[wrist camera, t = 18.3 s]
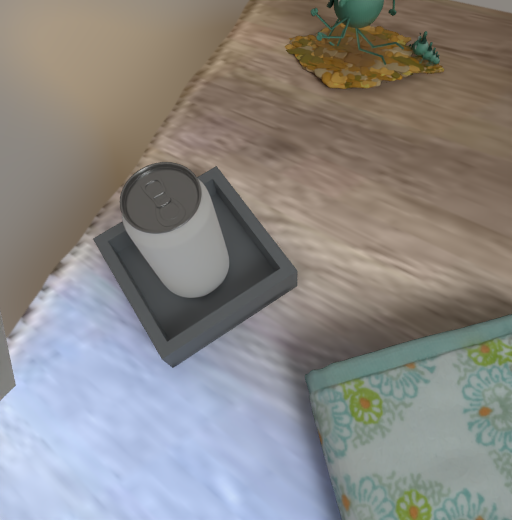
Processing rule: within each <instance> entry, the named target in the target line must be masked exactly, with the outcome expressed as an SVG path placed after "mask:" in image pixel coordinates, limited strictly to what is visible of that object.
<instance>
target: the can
mask: <svg viewBox="0 0 512 520" xmlns="http://www.w3.org/2000/svg"><path fill="white" fill-rule="evenodd" d="M120 208H121V212H122V221H123V224H124V227H125V229H126V231H127V233H128V235H129V236H130V238H131V239H132V241H133V242H134V244H135V245H136V246H137V248H138V249H139V251H140V252H141V254H142V255H143V256H144V258H145V259H146V261H147V262H148V263H149V265H150V266H151V268H152V269H153V270H154V272H155V273H156V274H157V276H158V277H159V279H160V280H161V281H162V283H163V284H164V285H165V286H166V287H167V288H168V289H169V290H170V291H171V292H173V293H174V294H176V295H178V296H182V297H187V298H196V297H202V296H205V295H207V294H209V293H211V292H212V291H214V290H215V289H216V288H217V287H218V286H219V285H220V284H221V283H222V282H223V281H224V279H225V277H226V275H227V273H228V269H229V255H228V251H227V248H226V245H225V241H224V238H223V235H222V231H221V228H220V225H219V222H218V219H217V215H216V212H215V209H214V206H213V203H212V200H211V197H210V195H209V192H208V190H207V188H206V187H205V185H204V184H203V183H202V182H201V181H200V180H199V179H198V178H197V177H196V175H195V174H194V173H193V172H192V171H191V170H189V169H188V168H186V167H185V166H183V165H180V164H177V163H172V162H160V163H155V164H151V165H148V166H146V167H144V168H142V169H140V170H139V171H137V172H136V173H135V174H133V175H132V176H131V177H130V178H129V180H128V181H127V182H126V184H125V185H124V187H123V190H122V192H121V196H120Z"/></svg>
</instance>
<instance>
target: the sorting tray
mask: <svg viewBox="0 0 512 520" xmlns="http://www.w3.org/2000/svg"><path fill="white" fill-rule="evenodd" d="M197 178H198V179H199V180H200V181H201V182H202V183H203V184H204V185H205V187H206V188H207V190H208V192H209V195H210V197H211V200H212V203H213V206H214V209H215V212H216V215H217V219H218V222H219V225H220V228H221V231H222V235H223V238H224V241H225V245H226V248H227V251H228V255H229V269H228V273H227V275H226V277H225V279H224V281H223V282H222V283H221V284H220V285H219V286H218V287H217V288H216V289H215V290H214V291H212V292H211V293H209V294H207V295H205V296H202V297H196V298H187V297H182V296H178V295H176V294H174V293H173V292H171V291H170V290H169V289H168V288H167V287H166V286H165V285H164V284H163V283H162V281H161V280H160V279H159V277H158V276H157V274H156V273H155V272H154V270H153V269H152V268H151V266H150V265H149V263H148V262H147V261H146V259H145V258H144V256H143V255H142V254H141V252H140V251H139V249H138V248H137V246H136V245H135V244H134V242H133V241H132V239H131V238H130V236H129V235H128V233H127V231H126V229H125V227H124V224H123V221H122V222H121V223H119V224H117V225H116V226H114V227H112V228H111V229H109V230H107V231H105V232H104V233H102V234H100V235H99V236H97V237H95V238H94V239H93V240H94V242H95V243H96V245H97V247H98V248H99V250H100V252H101V254H102V255H103V257H104V259H105V261H106V262H107V264H108V266H109V268H110V269H111V271H112V273H113V275H114V276H115V278H116V280H117V282H118V283H119V285H120V287H121V289H122V290H123V292H124V294H125V296H126V297H127V299H128V301H129V302H130V304H131V306H132V308H133V309H134V311H135V313H136V315H137V316H138V318H139V320H140V322H141V323H142V325H143V327H144V329H145V330H146V332H147V334H148V336H149V337H150V339H151V341H152V343H153V344H154V346H155V348H156V350H157V351H158V353H159V355H160V357H161V358H162V360H164V361H165V362H166V363H167V364H169V365H170V366H171V367H172V368H174V367H175V366H177V365H178V364H180V363H181V362H183V361H184V360H186V359H187V358H189V357H190V356H192V355H193V354H195V353H196V352H198V351H199V350H201V349H202V348H204V347H205V346H207V345H208V344H210V343H211V342H213V341H214V340H216V339H217V338H219V337H221V336H222V335H224V334H225V333H227V332H228V331H230V330H231V329H233V328H234V327H236V326H237V325H239V324H240V323H242V322H243V321H245V320H246V319H248V318H249V317H251V316H252V315H254V314H255V313H257V312H258V311H260V310H261V309H263V308H264V307H266V306H267V305H269V304H270V303H272V302H274V301H275V300H277V299H278V298H280V297H281V296H283V295H284V294H286V293H287V292H289V291H290V290H292V289H293V288H295V287H296V286H297V270H296V269H295V267H294V266H293V265H292V263H291V262H290V261H289V259H288V258H287V257H286V256H285V254H284V253H283V252H282V250H281V249H280V248H279V247H278V245H277V244H276V243H275V241H274V240H273V239H272V237H271V236H270V235H269V234H268V232H267V231H266V230H265V228H264V227H263V226H262V225H261V223H260V222H259V221H258V219H257V218H256V217H255V215H254V214H253V213H252V212H251V210H250V209H249V208H248V206H247V205H246V204H245V203H244V201H243V200H242V199H241V197H240V196H239V195H238V193H237V192H236V191H235V190H234V188H233V187H232V186H231V184H230V183H229V182H228V181H227V179H226V178H225V177H224V175H223V174H222V173H221V171H220V170H219V169H218V168H217V166H216V167H214V168H212V169H211V170H209V171H207V172H206V173H204V174H202V175H201V176H199V177H197Z"/></svg>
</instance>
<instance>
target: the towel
mask: <svg viewBox="0 0 512 520" xmlns="http://www.w3.org/2000/svg"><path fill="white" fill-rule="evenodd" d="M305 380H306V383H307V386H308V389H309V393H310V395H309V399H310V402H311V406H312V412H313V416H314V419H315V423H316V426H317V430H318V434H319V438H320V442H321V445H322V450H323V453H324V457H325V460H326V464H327V468H328V472H329V476H330V479H331V483H332V486H333V490H334V493H335V497H336V501H337V504H338V507H339V511H340V515H341V519H342V520H512V314H510V315H507V316H503V317H500V318H496V319H493V320H489V321H486V322H482V323H478V324H474V325H471V326H467V327H464V328H460V329H456V330H451V331H447V332H442V333H438V334H434V335H430V336H426V337H423V338H419V339H415V340H411V341H408V342H405V343H401V344H397V345H394V346H391V347H387V348H384V349H381V350H378V351H375V352H371V353H368V354H364V355H361V356H357V357H353V358H350V359H347V360H344V361H340V362H335V363H332V364H330V365H328V366H326V367H324V368H322V369H319V370H312V371H310V373H309V374H306V375H305Z"/></svg>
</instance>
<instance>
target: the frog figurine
mask: <svg viewBox="0 0 512 520" xmlns="http://www.w3.org/2000/svg"><path fill="white" fill-rule="evenodd" d="M333 3H334V10H335V13H336V15H337V17H338V19H337V21H336V23H335V25H334V26H333V27H330V26H329V25H328V24H327V23H326V22H325V21H324V20H323V19H322V18H321V17H320V16H319V15H318V14H317V12H318V9H317V8H315V9H312V10H311V14H312V16H315V15H316V16H317V17H318V18H319V19H320V20H321V21H322V22H323V23H324V24H325V25H326V26H327V27H328V28H324V29H323V30H321V32H318V33H316V36H314V35H308V36H306V37H303V36H297V37H295V38H288V39H290V40H291V41H290V44H288V45H286V46H285V48H286V49H288V50H286V51H287V52H288V53H290V54H295V57H296V58H297V59H298V60H299V63H300V64H301V65H302V68H303V69H304V70H307V71H309V72H313V73H315V75H316V76H317V77H318V78H320V79H322V81H323V83H324V84H326V85H327V86H328V87H329V88H341V89H346V88H352V87H355V88H370V87H374V86H380V84H381V81H382V80H388V81H394V80H396V79H397V80H401V79H402V77H407V76H409V75H413V74H412V73H420V72H421V73H427V74H428V73H431V74H432V73H436V72H440V73H441V72H443V71H444V68H442V67H443V66H441V65H439V62H440V59H439V55H438V56H437V53H438V52H436V54H435V49H436V48H434V49H433V50H432V47H431V46H432V42H431V43H430V45H428V42H427V40H426V35H427V31H425V32H424V35H423V38H422V39H421V36H419V37H418V40H417V41H416V42H415V43H414V44H412V47H410V46H411V44H410V45H409V46H406V42H409V41H410V40H411V37H404V36H403V35H399V34H398V33H396V32H393V31H389V30H386V29H383V27H381V26H377V27H376V28H375V27H373V26H369V25H370V24H371V23H373V22H374V21H375V19H376V18H377V17H378V15H379V14H380V12H381V10H382V7H383V3H384V0H330V2H328V4H327V5H328V6H327V7H329V8H331V7H332V6H333ZM389 13H391V15H392V16H394V15H395V14H396V11H395V0H393V9H391V10H389ZM339 20H340V22H339ZM340 24H341V25H340ZM420 35H421V33H420ZM412 50H413V51H412ZM413 53H414V54H416V55H417V56H414V57H411V55H412V54H413Z"/></svg>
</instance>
